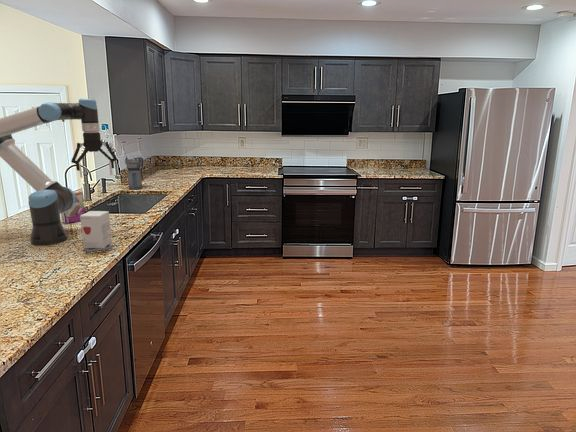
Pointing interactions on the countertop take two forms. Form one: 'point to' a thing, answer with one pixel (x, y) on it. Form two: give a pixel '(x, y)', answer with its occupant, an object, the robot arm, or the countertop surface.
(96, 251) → the slate coaster
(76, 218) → the candy bar box
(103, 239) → the supplement box
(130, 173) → the gray tapered canister
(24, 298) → the countertop surface
